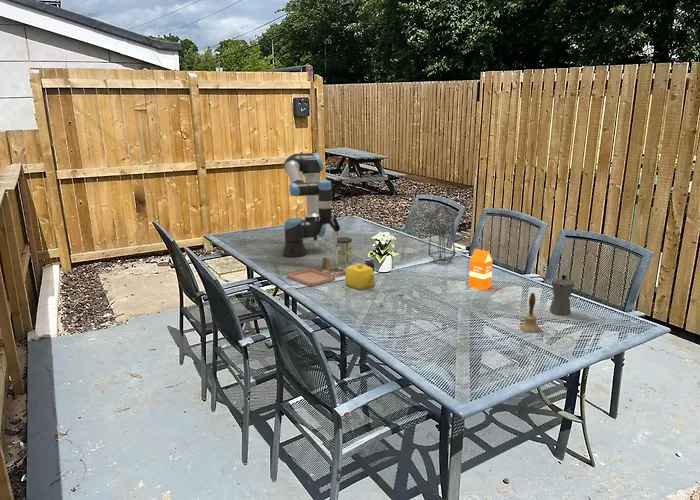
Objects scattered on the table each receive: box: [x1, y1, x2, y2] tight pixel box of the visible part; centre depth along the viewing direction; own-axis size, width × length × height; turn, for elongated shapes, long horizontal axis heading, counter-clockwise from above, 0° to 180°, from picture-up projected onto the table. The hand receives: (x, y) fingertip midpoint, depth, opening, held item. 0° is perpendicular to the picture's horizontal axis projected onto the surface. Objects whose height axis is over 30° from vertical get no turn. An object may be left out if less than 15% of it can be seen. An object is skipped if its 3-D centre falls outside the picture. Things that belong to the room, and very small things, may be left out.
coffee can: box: [334, 237, 353, 264], centre depth 328 cm, size 10×10×14 cm
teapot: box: [344, 263, 376, 291], centre depth 284 cm, size 20×12×12 cm, turn 36°
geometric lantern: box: [425, 205, 460, 265], centre depth 323 cm, size 16×16×35 cm
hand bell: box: [519, 292, 541, 333], centre depth 227 cm, size 8×8×16 cm
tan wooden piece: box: [320, 257, 347, 278], centre depth 308 cm, size 17×12×7 cm
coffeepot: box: [549, 274, 575, 317], centre depth 245 cm, size 15×9×18 cm, turn 151°
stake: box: [331, 246, 341, 274], centre depth 304 cm, size 4×6×15 cm
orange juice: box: [468, 248, 493, 291], centre depth 279 cm, size 8×9×20 cm
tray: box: [287, 267, 336, 288], centre depth 296 cm, size 22×17×2 cm
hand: (325, 244), depth 308 cm, fingers open, 13 cm apart
